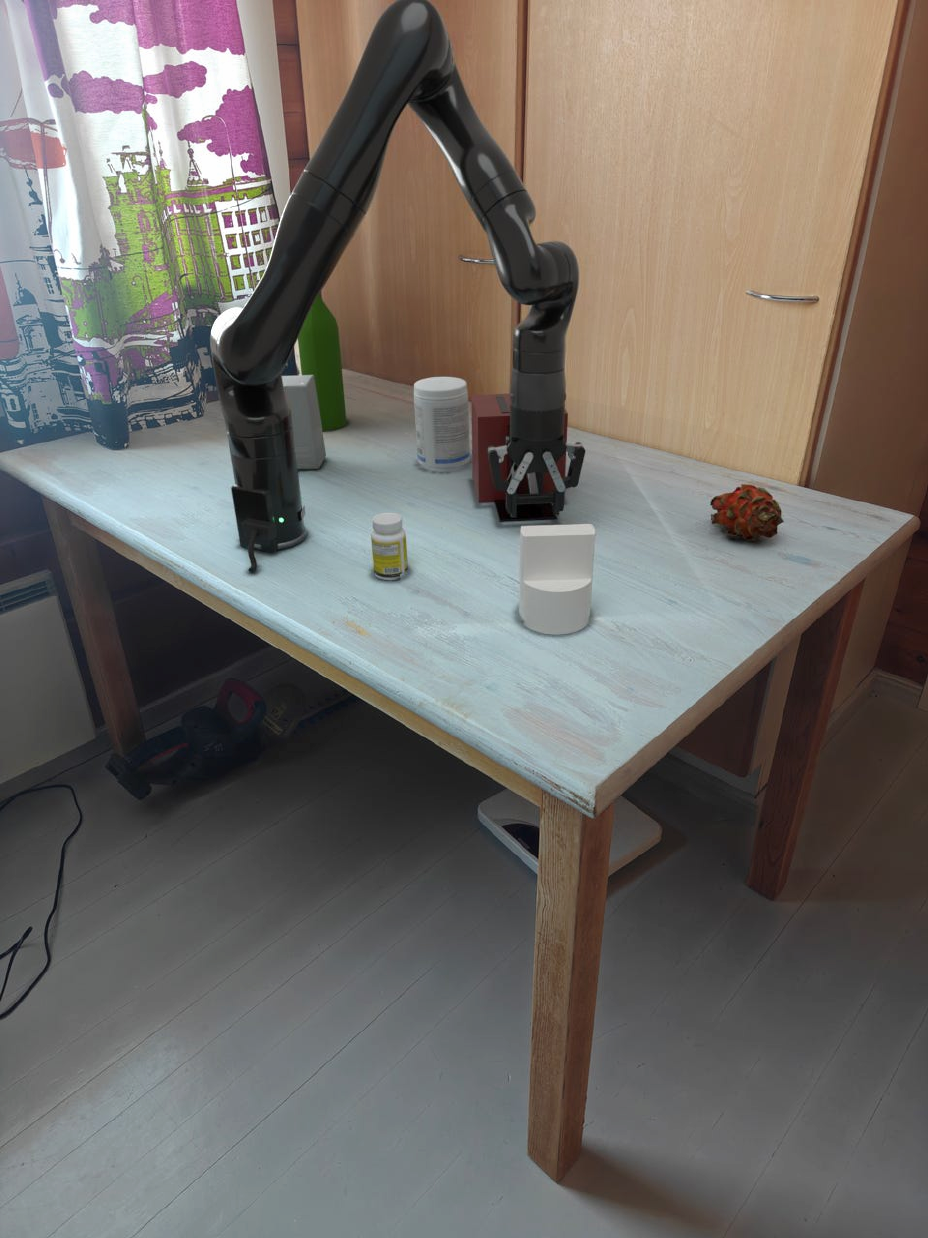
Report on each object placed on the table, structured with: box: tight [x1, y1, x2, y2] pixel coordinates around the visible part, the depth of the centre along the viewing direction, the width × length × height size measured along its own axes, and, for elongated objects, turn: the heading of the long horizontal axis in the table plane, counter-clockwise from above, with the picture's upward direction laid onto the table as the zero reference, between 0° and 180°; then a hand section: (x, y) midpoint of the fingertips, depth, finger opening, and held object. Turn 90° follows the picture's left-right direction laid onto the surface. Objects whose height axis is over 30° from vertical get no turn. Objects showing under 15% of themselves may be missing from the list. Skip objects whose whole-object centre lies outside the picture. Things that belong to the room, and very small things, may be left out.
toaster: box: [470, 393, 569, 504], centre depth 144 cm, size 12×14×15 cm
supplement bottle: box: [370, 512, 409, 581], centre depth 120 cm, size 5×5×8 cm
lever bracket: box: [493, 425, 558, 523], centre depth 136 cm, size 10×9×14 cm
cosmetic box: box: [282, 375, 327, 470], centre depth 157 cm, size 8×7×16 cm
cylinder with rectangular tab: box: [518, 523, 596, 636], centre depth 108 cm, size 9×9×12 cm
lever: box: [517, 472, 555, 504], centre depth 131 cm, size 14×6×2 cm, turn 5°
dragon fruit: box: [707, 483, 785, 542], centre depth 130 cm, size 8×8×12 cm
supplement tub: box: [413, 376, 471, 469], centre depth 156 cm, size 10×10×15 cm
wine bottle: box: [293, 292, 347, 432], centre depth 173 cm, size 9×9×32 cm
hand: (534, 513), depth 128 cm, fingers closed on lever, 5 cm apart
